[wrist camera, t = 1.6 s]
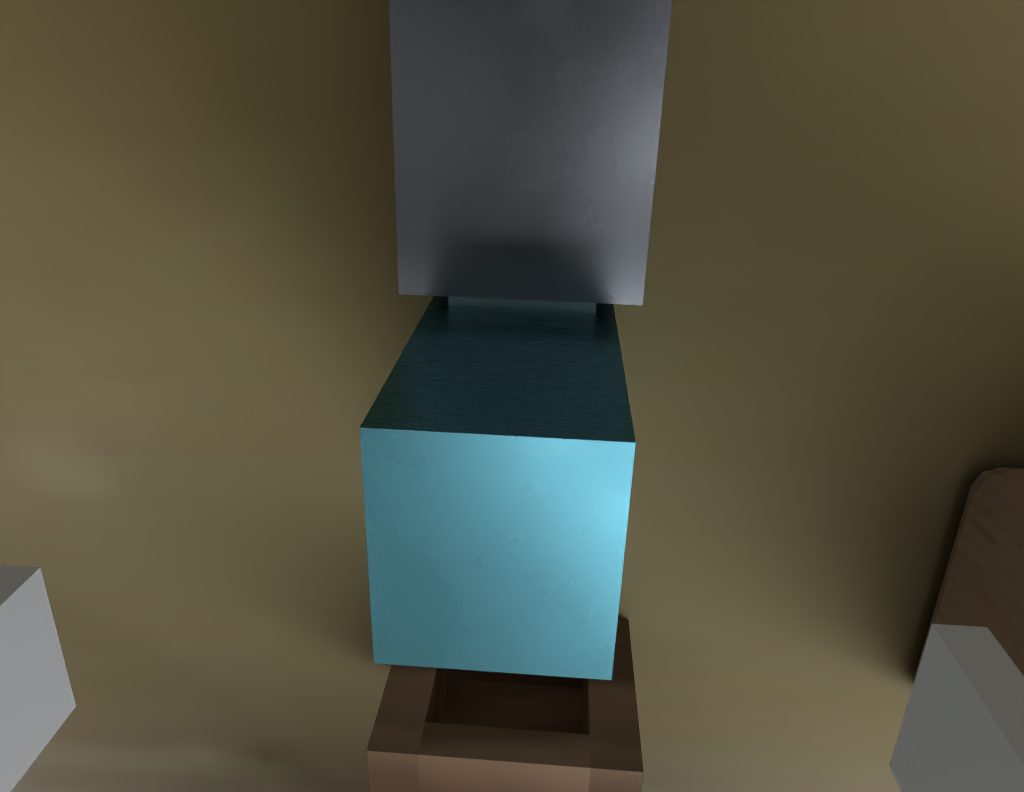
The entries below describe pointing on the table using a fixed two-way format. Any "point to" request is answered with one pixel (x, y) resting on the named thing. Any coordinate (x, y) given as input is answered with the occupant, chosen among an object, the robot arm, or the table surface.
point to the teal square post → (500, 490)
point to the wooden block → (988, 563)
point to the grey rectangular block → (526, 146)
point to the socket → (507, 731)
